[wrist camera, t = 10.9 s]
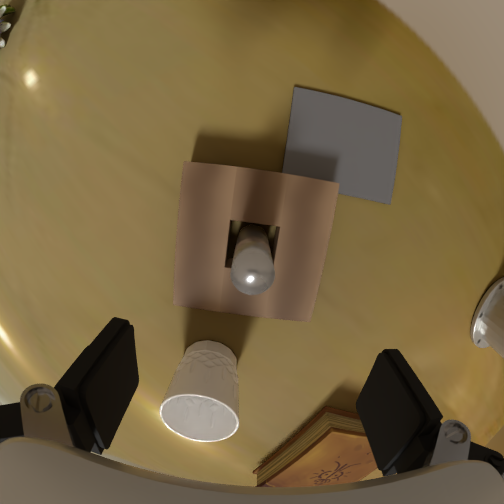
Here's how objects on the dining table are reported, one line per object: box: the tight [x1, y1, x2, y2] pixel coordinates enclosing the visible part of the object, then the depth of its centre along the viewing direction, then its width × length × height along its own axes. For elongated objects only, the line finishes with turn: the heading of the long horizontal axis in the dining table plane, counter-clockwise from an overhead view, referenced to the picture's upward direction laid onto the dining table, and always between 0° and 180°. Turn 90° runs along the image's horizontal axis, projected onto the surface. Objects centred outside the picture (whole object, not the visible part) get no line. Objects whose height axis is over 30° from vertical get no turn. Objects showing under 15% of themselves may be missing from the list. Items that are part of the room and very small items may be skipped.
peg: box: [230, 225, 275, 295], centre depth 24 cm, size 3×3×10 cm
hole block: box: [173, 161, 340, 322], centre depth 27 cm, size 14×14×3 cm
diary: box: [253, 406, 377, 487], centre depth 37 cm, size 23×19×6 cm
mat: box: [282, 87, 402, 205], centre depth 26 cm, size 12×10×1 cm
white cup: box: [160, 340, 239, 442], centre depth 28 cm, size 8×8×10 cm
